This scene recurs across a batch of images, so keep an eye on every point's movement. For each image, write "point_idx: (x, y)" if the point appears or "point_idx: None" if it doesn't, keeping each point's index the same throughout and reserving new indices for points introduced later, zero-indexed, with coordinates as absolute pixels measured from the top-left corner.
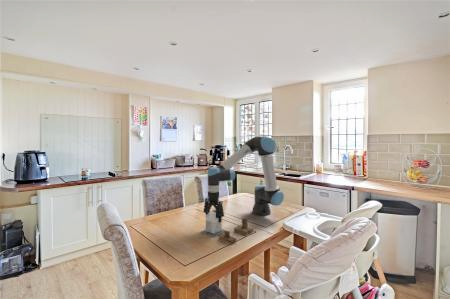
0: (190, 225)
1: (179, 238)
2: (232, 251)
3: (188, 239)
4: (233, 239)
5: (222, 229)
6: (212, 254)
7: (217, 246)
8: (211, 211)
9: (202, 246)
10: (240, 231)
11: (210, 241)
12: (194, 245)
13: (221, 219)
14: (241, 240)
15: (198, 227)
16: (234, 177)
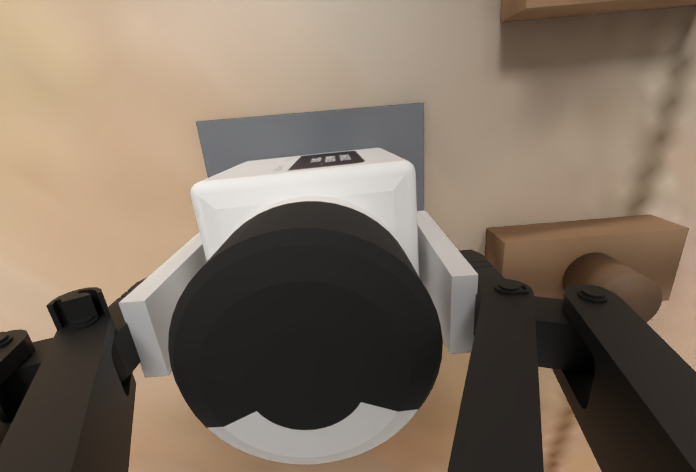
0: (9, 278)
1: (228, 465)
2: (684, 344)
3: None
4: (674, 275)
5: (365, 112)
6: (577, 444)
7: (543, 367)
8: (271, 445)
9: (451, 429)
10: (622, 5)
11: (444, 354)
12: (397, 453)
13: (413, 181)
14: (683, 153)
15: (112, 252)
16: None
